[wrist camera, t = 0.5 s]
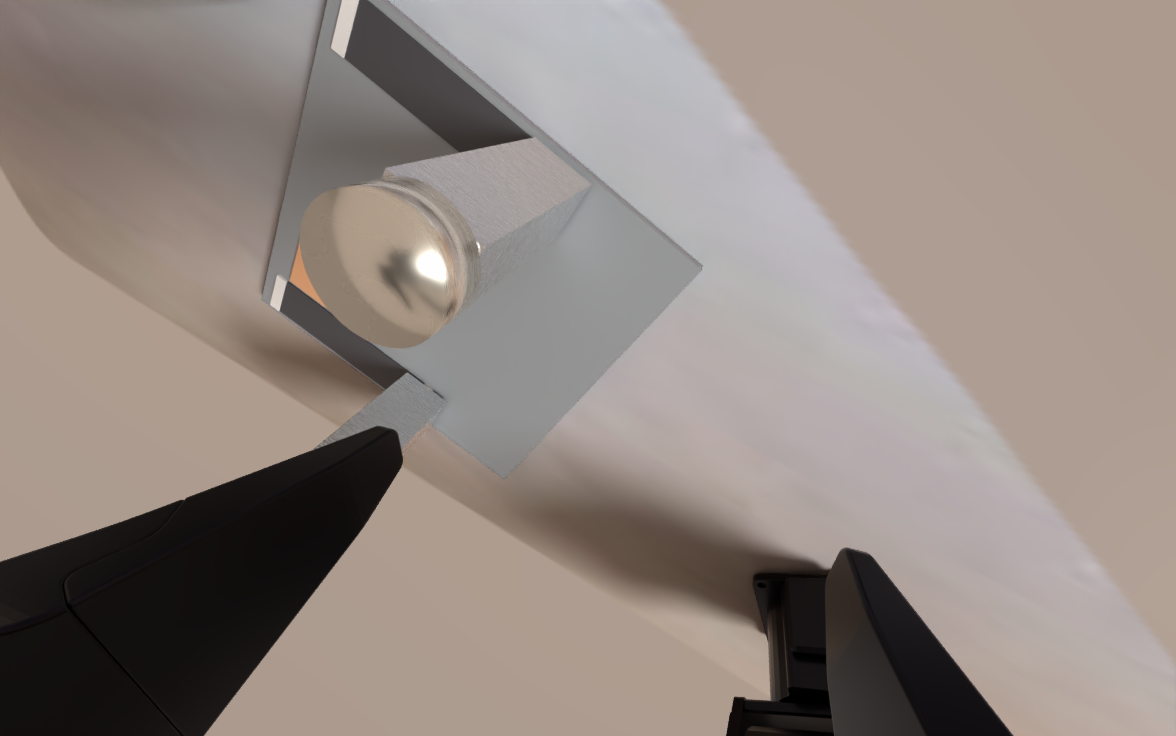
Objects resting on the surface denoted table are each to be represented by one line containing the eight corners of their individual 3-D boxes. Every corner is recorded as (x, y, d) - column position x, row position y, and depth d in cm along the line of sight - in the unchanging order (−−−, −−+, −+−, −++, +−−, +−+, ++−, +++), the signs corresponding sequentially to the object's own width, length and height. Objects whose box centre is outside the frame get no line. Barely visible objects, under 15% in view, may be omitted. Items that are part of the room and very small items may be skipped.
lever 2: (455, 402, 26) (310, 555, 18) (432, 435, 28) (292, 587, 20) (403, 363, 26) (230, 500, 17) (384, 400, 28) (220, 538, 19)
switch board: (702, 265, 19) (701, 271, 19) (508, 472, 29) (502, 481, 29) (346, -34, 17) (331, -40, 17) (270, 296, 28) (258, 301, 27)
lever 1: (605, 182, 18) (471, 266, 9) (557, 252, 20) (411, 375, 11) (532, 121, 17) (320, 147, 9) (491, 198, 19) (286, 282, 11)
